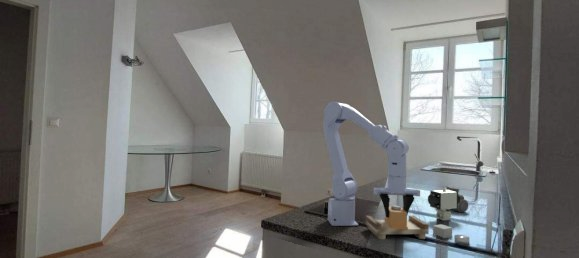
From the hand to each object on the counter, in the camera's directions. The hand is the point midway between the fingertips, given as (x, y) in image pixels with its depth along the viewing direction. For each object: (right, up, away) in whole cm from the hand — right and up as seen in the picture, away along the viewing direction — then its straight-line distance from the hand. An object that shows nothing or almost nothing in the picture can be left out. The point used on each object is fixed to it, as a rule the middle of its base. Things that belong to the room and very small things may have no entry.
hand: (396, 217), depth 103 cm
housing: (0, -2, 0) cm, 2 cm away
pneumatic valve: (+24, -6, +18) cm, 31 cm away
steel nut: (+18, -6, -7) cm, 20 cm away
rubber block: (+15, -6, -1) cm, 16 cm away
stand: (0, -5, 0) cm, 5 cm away
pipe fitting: (+36, -7, +33) cm, 50 cm away
